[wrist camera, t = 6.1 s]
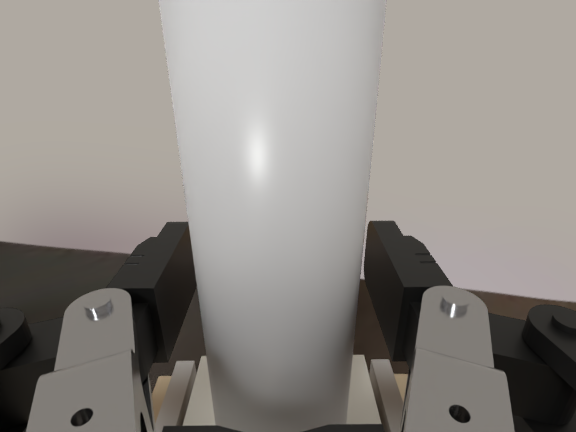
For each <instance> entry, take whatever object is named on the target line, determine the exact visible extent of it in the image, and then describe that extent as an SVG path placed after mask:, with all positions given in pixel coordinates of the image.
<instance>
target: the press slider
mask: <svg viewBox="0 0 576 432" xmlns="http://www.w3.org/2000/svg"><path fill="white" fill-rule="evenodd" d="M386 1H387V0H159V7H160V15H161V22H162V30H163V37H164V44H165V52H166V60H167V67H168V75H169V81H170V89H171V97H172V104H173V112H174V119H175V127H176V133H177V141H178V149H179V156H180V164H181V171H182V179H183V186H184V193H185V201H186V209H187V216H188V224H189V231H190V239H191V246H192V253H193V261H194V268H195V276H196V283H197V291H198V298H199V306H200V313H201V321H202V328H203V335H204V343H205V350H206V356H201V360H200V363H199V367H198V371H197V374H196V378H195V382H194V385H193V389H192V393H191V396H190V400H189V404H188V407H187V411H186V415H185V418H184V422H183V426H203V425H218V426H222V427H226V428H230V429H234V430H238V431H242V432H303V431H306V430H310V429H314V428H317V427H321V426H325V425H328V424H381V420H380V416H379V412H378V408H377V405H376V401H375V397H374V393H373V389H372V385H371V381H370V377H369V373H368V369H367V365H366V361H365V357H364V355H353V348H354V337H355V327H356V316H357V306H358V295H359V285H360V274H361V264H362V253H363V242H364V232H365V221H366V211H367V200H368V190H369V180H370V169H371V159H372V147H373V137H374V127H375V116H376V106H377V96H378V85H379V75H380V64H381V54H382V43H383V33H384V32H383V31H384V22H385V12H386V11H385V10H386Z"/></svg>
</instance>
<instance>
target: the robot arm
mask: <svg viewBox="0 0 576 432" xmlns="http://www.w3.org/2000/svg"><path fill="white" fill-rule="evenodd" d="M364 277H365V282H366V285H367V288H368V291H369V294H370V297H371V300H372V303H373V306H374V309H375V312H376V315H377V318H378V321H379V324H380V327H381V330H382V332H383V335H384V338H385V341H386V344H387V347H388V350H389V353H390V356H391V359H392V361H407V364H408V366H409V372H408V377H407V383H406V389H405V396H404V402H403V409H402V415H401V422H400V428H399V432H576V311H574V310H571V309H568V308H565V307H561V306H556V305H538V306H535V307H533V308H531V309H530V311H529V313H528V316H527V319H526V321H525V320H520V319H515V318H510V317H505V316H500V315H495V314H491V313H488V310H487V307H486V305H485V304H484V302H483V301H482V300H481V299H479V298H478V297H477V296H475V295H474V294H472V293H470V292H468V291H466V290H463V289H460V288H457V287H453V285H452V284H451V283H450V281H449V280H448V278H447V277H446V275H445V274H444V273H443V271H442V270H441V268H440V267H439V265H438V264H437V263H436V261H435V260H434V258H433V257H432V255H430V253H429V251H428V250H427V249H426V247H425V246H424V244H423V243H421V242H420V241H418V240H417V239H415V238H414V237H412V236H403V234H402V233H401V231H400V229H399V228H398V226H397V225H396V223H395V222H394V221H370V222H369V224H368V229H367V239H366V249H365V260H364ZM196 286H197V283H196V276H195V268H194V261H193V253H192V246H191V239H190V231H189V224H188V222H167V223H166V225H165V226H164V228H163V229H162V231H161V232H160V233H159V235H158V236H157V237H150V238H148V239H147V240H145V241H144V242H142V243H141V244H139V245H138V246H137V247H136V248H135V250H134V251H133V252H132V254H131V255H130V257H129V258H128V259H127V260H126V262H125V263H124V265H123V266H122V267H121V268H120V270H119V271H118V272H117V274H116V275H115V276H114V278H113V279H112V280H111V282H110V283H109V284H108V286H107V287H106V288H105V289H100V290H96V291H93V292H90V293H87V294H85V295H83V296H81V297H79V298H78V299H76V300H75V301H74V302H72V303H71V304H70V305H69V306H68V308H67V309H66V311H65V314H64V317H60V318H56V319H51V320H46V321H42V322H37V323H32V324H28V323H27V321H26V318H25V316H24V314H23V312H22V311H21V310H19V309H16V308H0V432H156V428H155V419H154V410H153V401H152V392H151V384H150V379H149V374H148V373H149V371H150V368H151V366H152V364H153V363H161V362H168V361H169V359H170V356H171V353H172V351H173V348H174V345H175V343H176V340H177V337H178V334H179V332H180V329H181V326H182V324H183V321H184V318H185V316H186V313H187V310H188V308H189V305H190V302H191V300H192V297H193V294H194V292H195V289H196ZM162 432H242V431H238V430H234V429H230V428H226V427H222V426H218V425H203V426H164V427H163V430H162ZM303 432H385V431H384V427H383V424H328V425H325V426H321V427H317V428H314V429H310V430H306V431H303Z"/></svg>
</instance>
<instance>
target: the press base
mask: <svg viewBox="0 0 576 432" xmlns="http://www.w3.org/2000/svg"><path fill="white" fill-rule="evenodd" d="M196 374H197V373H196V367H195V361H177V362H176V365H175V368H174V371H173V374H172V376H159V377H158V380H157V382H156V385H155V388H154V390H153V393H152V401H153V410H154V419H155V428H156V432H162V430H163V427H164V426H183V422H184V418H185V415H186V411H187V407H188V404H189V400H190V396H191V393H192V389H193V385H194V382H195V378H196ZM369 377H370V381H371V385H372V389H373V393H374V397H375V401H376V405H377V408H378V412H379V416H380V420H381V424H383V427H384V431H385V432H399V428H400V422H401V415H402V409H403V402H404V396H405V389H406V383H407V377H408V374H394V373H393V370H392V367H391V364H390V361H389V359H371V365H370V373H369Z"/></svg>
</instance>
